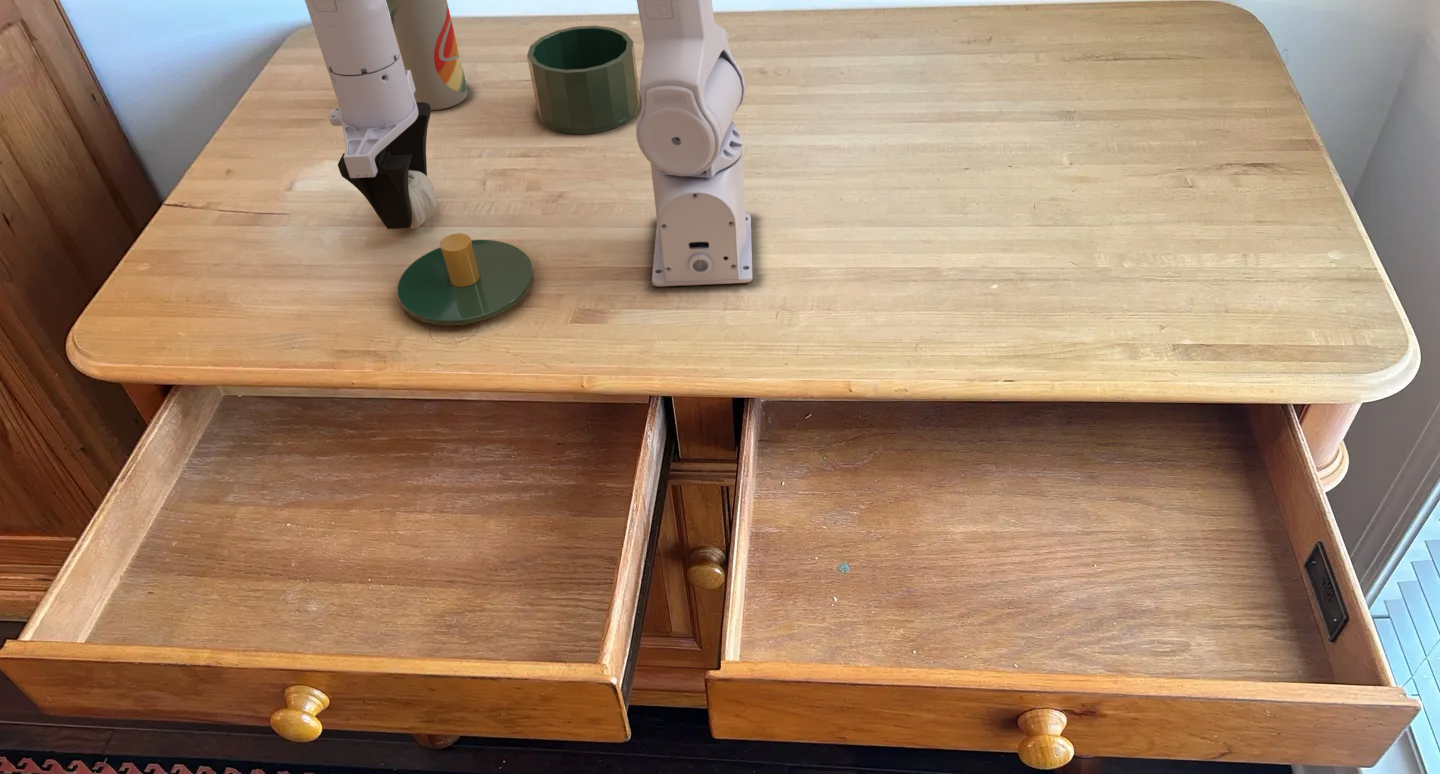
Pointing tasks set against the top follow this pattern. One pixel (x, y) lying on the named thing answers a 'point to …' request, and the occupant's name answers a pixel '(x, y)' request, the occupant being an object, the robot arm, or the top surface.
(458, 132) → the top surface
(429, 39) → the spray bottle
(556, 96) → the pot
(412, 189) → the garlic
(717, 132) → the robot arm
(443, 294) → the lid
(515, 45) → the top surface
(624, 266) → the top surface
